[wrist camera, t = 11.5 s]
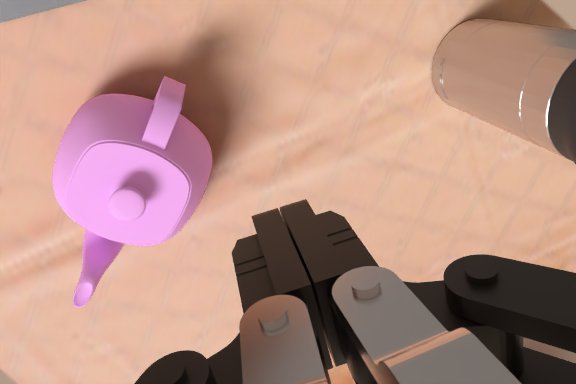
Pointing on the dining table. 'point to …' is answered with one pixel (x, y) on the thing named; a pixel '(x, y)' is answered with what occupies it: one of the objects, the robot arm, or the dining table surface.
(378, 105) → the dining table surface
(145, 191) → the teapot
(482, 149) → the dining table surface
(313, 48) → the dining table surface
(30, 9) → the board with raised edge
